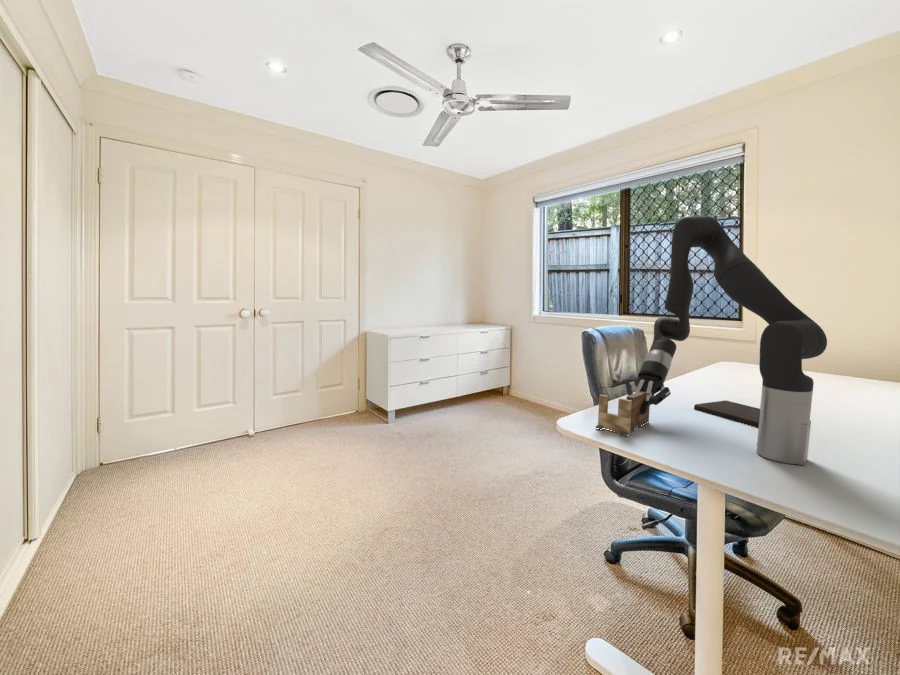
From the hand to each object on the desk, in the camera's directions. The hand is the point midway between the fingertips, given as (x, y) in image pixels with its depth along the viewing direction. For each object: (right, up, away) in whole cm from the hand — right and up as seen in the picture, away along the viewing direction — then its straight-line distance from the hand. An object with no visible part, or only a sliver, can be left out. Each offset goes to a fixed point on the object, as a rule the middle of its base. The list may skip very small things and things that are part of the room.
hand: (637, 412), depth 117 cm
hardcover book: (+40, -4, +11) cm, 42 cm away
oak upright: (-9, -5, -4) cm, 11 cm away
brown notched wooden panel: (0, -4, +1) cm, 4 cm away
